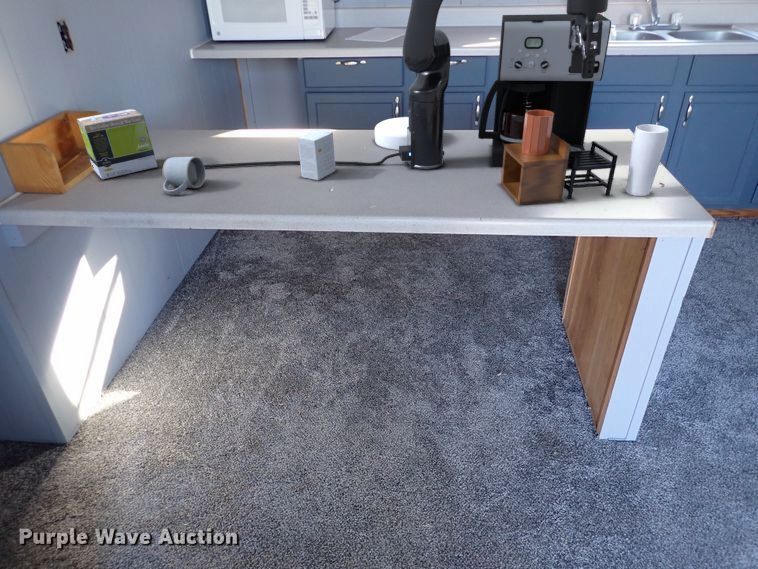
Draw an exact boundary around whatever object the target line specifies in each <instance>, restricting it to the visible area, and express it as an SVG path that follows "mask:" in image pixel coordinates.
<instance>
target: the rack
mask: <svg viewBox="0 0 758 569" xmlns="http://www.w3.org/2000/svg"><path fill="white" fill-rule="evenodd" d="M596 148H597V149H599V150H600V151H601V152H603V153H605V154H606V155H608V156H609V157H611V160H609V158H607V157H606V156H603V155H602V154H601V153H599V152H598V151H597V150H596ZM618 156H619V155H618V154H616V153H615V152H613V151H611V150H610V149H608V148H606V147H605V146H604V145H602V144H600V143H599V142H597V141H595V140H592V141H591V145H590V149H587V150H586V149H585V150H584V151H570V152H569V158H568V164H567V167H568V168H570V169H569V170H570V174H568V175H567V174H566V177H565V183H564V189H565V190H566V191H567V195H566V198H567V200H572V199H573V193H574V189H582V188H595V187H597V188H598V187H604V188H605V193H604V196H606V197H610V196H611V191H612V186H613V183H614V182H613V181H614V177H615V173H616V172H615V171H616V167H617V162H618ZM606 169H607V170H608V169H609V173H608V178H607V181H605V180H604V179H602V178H601V177H600V176H598V175H596V173H594V172H592V170H593V171H595V170H606ZM579 171H585V172H586V173H580V174H579V173H578V174H577V172H579Z"/></svg>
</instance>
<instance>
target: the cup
mask: <svg viewBox="0 0 758 569" xmlns="http://www.w3.org/2000/svg"><path fill="white" fill-rule="evenodd" d="M553 120H554V113H553V112H551V111H547V110H530V111H527V112H526V113H525V121H524V130H523V139H522V152H523V153H525V154H529V155H545V154H548V153H549V149H550V142H551V135H552V128H553Z"/></svg>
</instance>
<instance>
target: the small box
mask: <svg viewBox="0 0 758 569" xmlns="http://www.w3.org/2000/svg"><path fill="white" fill-rule="evenodd" d="M297 146H298V154H299V161H300V164H299V165H300V172H301V173H300V174H301V177H302V178H305V179H309V180H314V181H320V180H322V179H324V178H325V177H327V176H329V175H331V174H333V173H335V172H336V171H337V170H336V164H335V161H336V158H335V144H334V133H333V132H332V131H325V130H320V129H314V130H313V131H310V132H308V133H305V134H303V135H301V136H299V137H297Z"/></svg>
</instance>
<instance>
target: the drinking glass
mask: <svg viewBox="0 0 758 569" xmlns="http://www.w3.org/2000/svg"><path fill="white" fill-rule="evenodd" d="M669 131H670V130H669V128H667V127H665V126H663V125H660V124H659V125H658V124H648V123H646V124H639V125H636V126H635V129H634V131H633V132H634V133H633V137H632V141H631V145H630V155H629V162H628V163H629V164H628V170H627V178H626V184H625V192H626V193H627V194H628V195H631V196H635V197H646V196H648V195H649V194H650V193H651V191H652V188H653V184H654V180H655V179H656V178H655V177H656V176H657V172H658V169H659V166H660V163H661V161H662V157H663V155H664V151H665V148H666V145H667V140H668V136H669Z"/></svg>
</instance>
